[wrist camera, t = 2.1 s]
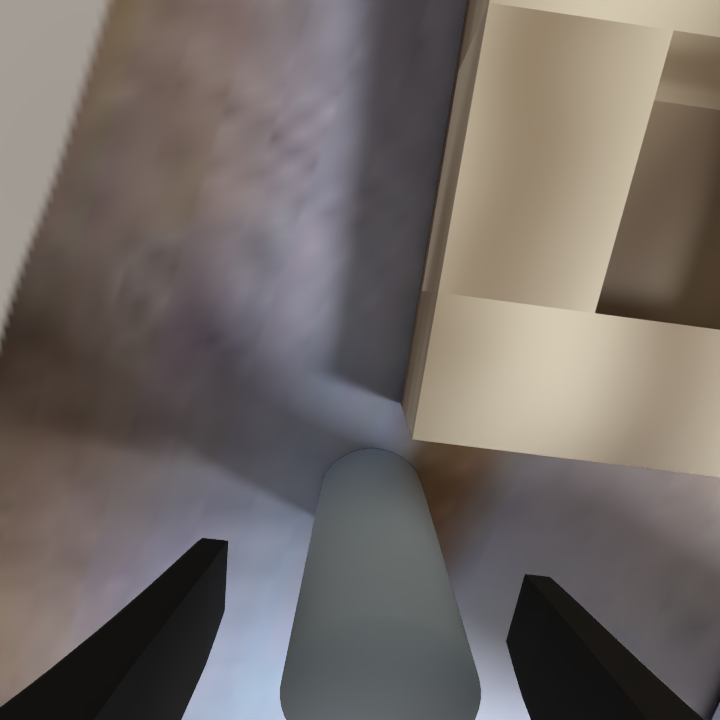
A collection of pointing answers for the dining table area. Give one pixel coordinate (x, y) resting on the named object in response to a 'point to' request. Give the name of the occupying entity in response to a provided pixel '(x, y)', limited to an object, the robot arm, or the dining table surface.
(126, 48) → the dining table surface
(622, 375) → the socket block
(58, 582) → the dining table surface
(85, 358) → the dining table surface
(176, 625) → the robot arm
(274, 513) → the dining table surface
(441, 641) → the peg
